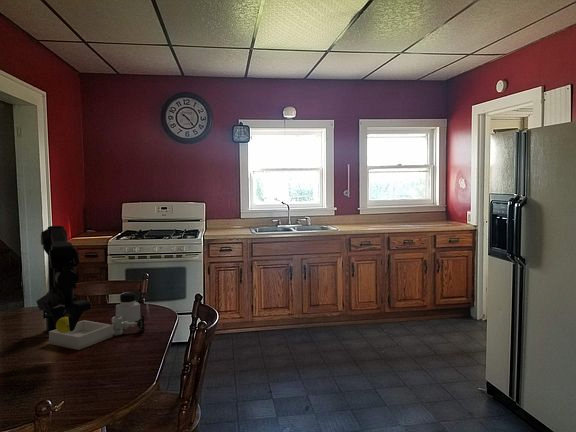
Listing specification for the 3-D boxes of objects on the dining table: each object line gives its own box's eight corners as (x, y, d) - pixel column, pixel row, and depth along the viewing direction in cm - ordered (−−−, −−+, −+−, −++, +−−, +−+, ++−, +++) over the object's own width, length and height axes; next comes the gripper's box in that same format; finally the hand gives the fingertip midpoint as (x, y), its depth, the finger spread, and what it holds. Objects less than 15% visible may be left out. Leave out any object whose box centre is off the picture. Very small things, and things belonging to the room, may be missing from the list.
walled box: (49, 343, 157) (48, 331, 157) (84, 331, 170) (83, 320, 170) (78, 350, 151) (78, 337, 150) (112, 336, 164) (112, 325, 164)
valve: (111, 337, 164) (144, 333, 168) (110, 320, 163) (144, 317, 167) (111, 332, 170) (144, 328, 174) (111, 315, 170) (143, 312, 174)
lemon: (54, 333, 146) (53, 317, 146) (72, 330, 149) (71, 314, 149) (58, 336, 140) (57, 319, 140) (76, 333, 143) (75, 316, 144)
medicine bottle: (140, 320, 185) (140, 292, 184) (126, 324, 179) (125, 295, 178) (130, 317, 189) (129, 290, 188) (115, 321, 183) (114, 293, 182)
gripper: (21, 285, 140) (23, 333, 141) (61, 291, 133) (63, 341, 134) (52, 279, 150) (54, 323, 151) (91, 283, 143) (93, 330, 144)
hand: (65, 329), depth 145 cm, fingers closed on lemon, 6 cm apart
